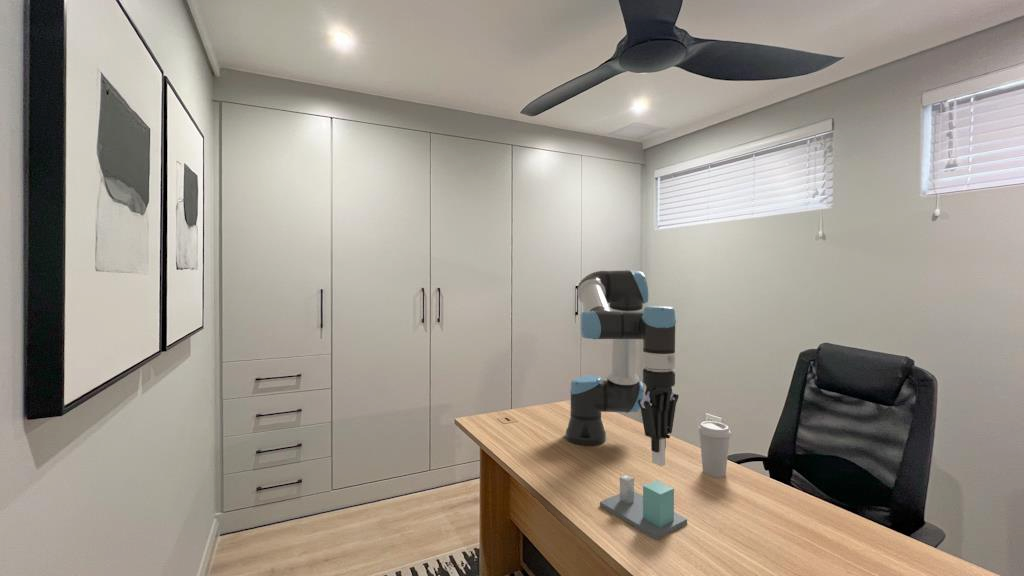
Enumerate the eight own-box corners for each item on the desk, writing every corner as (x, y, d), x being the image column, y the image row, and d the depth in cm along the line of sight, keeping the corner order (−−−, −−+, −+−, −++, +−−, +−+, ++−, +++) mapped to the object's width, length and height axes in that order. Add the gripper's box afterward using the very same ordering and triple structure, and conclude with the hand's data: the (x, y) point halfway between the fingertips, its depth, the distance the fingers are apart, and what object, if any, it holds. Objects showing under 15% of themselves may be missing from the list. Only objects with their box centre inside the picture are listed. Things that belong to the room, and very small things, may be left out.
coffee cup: (735, 481, 128) (735, 431, 127) (701, 478, 129) (701, 429, 129) (726, 467, 137) (726, 421, 137) (694, 465, 139) (694, 419, 139)
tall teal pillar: (642, 517, 106) (642, 485, 106) (656, 511, 109) (656, 480, 109) (660, 527, 102) (660, 494, 102) (673, 520, 105) (673, 488, 105)
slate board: (599, 506, 114) (599, 501, 114) (630, 493, 120) (630, 489, 120) (656, 540, 99) (656, 535, 99) (687, 523, 105) (687, 518, 105)
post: (619, 500, 114) (619, 476, 114) (626, 498, 116) (626, 474, 115) (627, 505, 112) (627, 480, 112) (633, 502, 113) (633, 478, 113)
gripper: (654, 374, 98) (654, 476, 98) (688, 368, 105) (687, 462, 106) (629, 369, 104) (628, 464, 105) (662, 363, 111) (662, 452, 112)
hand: (658, 463), depth 105 cm, fingers closed
